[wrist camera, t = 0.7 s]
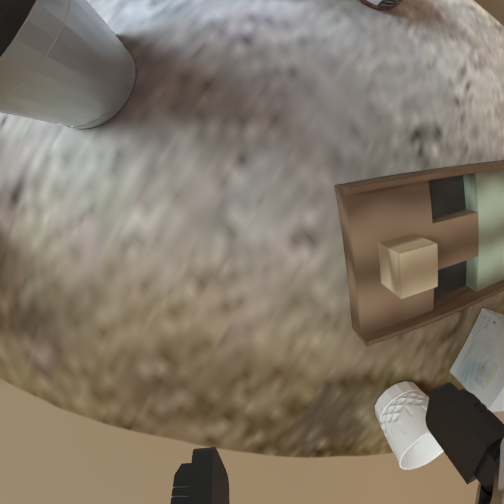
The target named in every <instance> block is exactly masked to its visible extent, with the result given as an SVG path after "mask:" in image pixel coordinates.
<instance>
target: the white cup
mask: <svg viewBox="0 0 504 504" xmlns="http://www.w3.org/2000/svg"><path fill="white" fill-rule="evenodd" d="M428 401H429V397H428V396H427V395H426V394H424V393H423V392H422V391H421V390H420V389H419V388H418V387H417V386H416V385H415V383H414V382H409V381H404V382H400V383H397V384H395V385H393V386H391V387H390V388H388V389H387V390H386V391H385V392H384V393H383V394H382V395H381V396H380V397H379V398H378V400H377V402H376V405H375V415H376V417H377V418H378V420H379V422H380V424H381V428H382V430H383V432H384V434H385V436H386V439H387V441H388V443H389V445H390V447H391V449H392V451H393V453H394V455H395V457H396V459H397V461H398V464H399V466H400V467H401V468H402V469H405V470H410V469H415V468H418V467H421V466H423V465H425V464H427V463H429V462H430V461H432V460H433V459H435V458H436V457H437V456H439V455H440V454H441V453H442V452H443V449H442V448H441V447H440V445H439V444H438V443H437V441H436V440H435V438H434V437H433V436H432V434H431V433H430V432H429V430H428V428H427V425H426V420H425V417H426V412H427V407H428Z"/></svg>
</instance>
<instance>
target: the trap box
mask: <svg viewBox="0 0 504 504" xmlns="http://www.w3.org/2000/svg"><path fill="white" fill-rule="evenodd" d="M335 190H336V196H337V202H338V208H339V215H340V221H341V228H342V235H343V243H344V250H345V258H346V267H347V275H348V285H349V295H350V305H351V317H352V328H353V329H354V331H355V332H356V333H357V334H358V336H359V337H360V338H361V340H362V341H363V342H364V344H365V345H366V346H369V345H372V344H375V343H378V342H381V341H384V340H387V339H390V338H393V337H396V336H399V335H401V334H404V333H407V332H409V331H412V330H415V329H417V328H420V327H423V326H425V325H428V324H430V323H433V322H435V321H438V320H440V319H442V318H445V317H447V316H450V315H452V314H454V313H457V312H459V311H461V310H463V309H466V308H468V307H470V306H472V305H474V304H477V303H479V302H481V301H483V300H485V299H487V298H489V297H491V296H493V295H495V294H498V293H500V292H502V291H503V290H504V160H502V161H493V162H484V163H476V164H467V165H460V166H452V167H445V168H437V169H430V170H423V171H417V172H410V173H404V174H397V175H391V176H385V177H379V178H373V179H367V180H361V181H356V182H350V183H344V184H339V185H335ZM410 234H415V235H418V236H420V237H423V238H425V239H428V240H430V241H433V242H435V243H437V248H438V287H435V288H432V289H429V290H426V291H424V292H421V293H418V294H415V295H412V296H409V297H406V298H403V299H401V298H399V297H398V296H397V295H396V294H394V293H393V292H392V291H391V290H389V289H388V288H387V287H385V286H384V285H383V284H382V283H381V274H380V261H379V249H378V243H379V242H383V241H387V240H391V239H395V238H399V237H402V236H406V235H410Z"/></svg>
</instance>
